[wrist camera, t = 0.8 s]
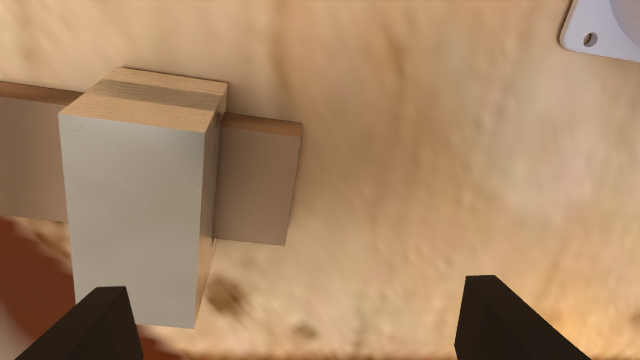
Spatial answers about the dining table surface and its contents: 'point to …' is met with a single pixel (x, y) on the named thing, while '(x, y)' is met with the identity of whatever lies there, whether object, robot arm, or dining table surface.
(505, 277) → the dining table surface
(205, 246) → the keeper
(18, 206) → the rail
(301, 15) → the dining table surface
